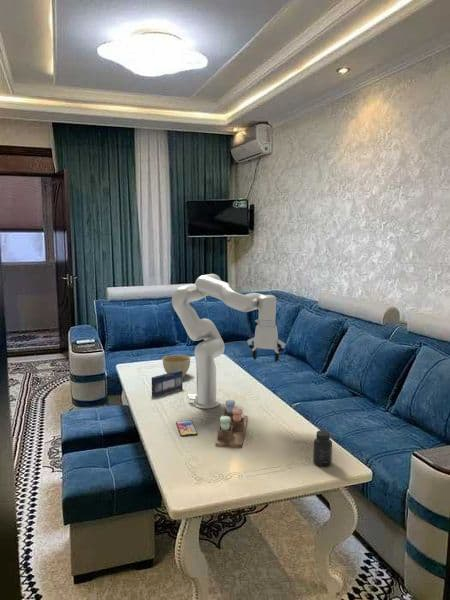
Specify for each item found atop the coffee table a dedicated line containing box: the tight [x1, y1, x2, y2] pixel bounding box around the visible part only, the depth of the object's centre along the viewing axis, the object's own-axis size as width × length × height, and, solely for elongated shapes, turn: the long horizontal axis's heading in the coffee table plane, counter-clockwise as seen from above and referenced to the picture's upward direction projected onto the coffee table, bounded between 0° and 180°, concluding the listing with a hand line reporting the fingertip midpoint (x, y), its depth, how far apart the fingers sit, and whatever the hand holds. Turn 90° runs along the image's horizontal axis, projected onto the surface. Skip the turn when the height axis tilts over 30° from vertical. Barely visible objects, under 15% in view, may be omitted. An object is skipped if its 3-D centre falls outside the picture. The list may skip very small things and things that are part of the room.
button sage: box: [219, 415, 231, 431], centre depth 195 cm, size 4×4×6 cm
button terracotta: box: [232, 407, 243, 422], centre depth 204 cm, size 4×4×6 cm
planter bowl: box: [162, 354, 191, 378], centre depth 277 cm, size 16×16×11 cm
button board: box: [215, 408, 248, 448], centre depth 205 cm, size 10×29×5 cm, turn 173°
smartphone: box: [175, 419, 198, 438], centre depth 207 cm, size 7×1×15 cm
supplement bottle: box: [312, 429, 333, 468], centre depth 177 cm, size 7×7×12 cm
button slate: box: [225, 399, 236, 413], centre depth 213 cm, size 4×4×6 cm
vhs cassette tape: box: [151, 370, 184, 398], centre depth 251 cm, size 18×3×10 cm, turn 131°
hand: (265, 360), depth 216 cm, fingers open, 9 cm apart
